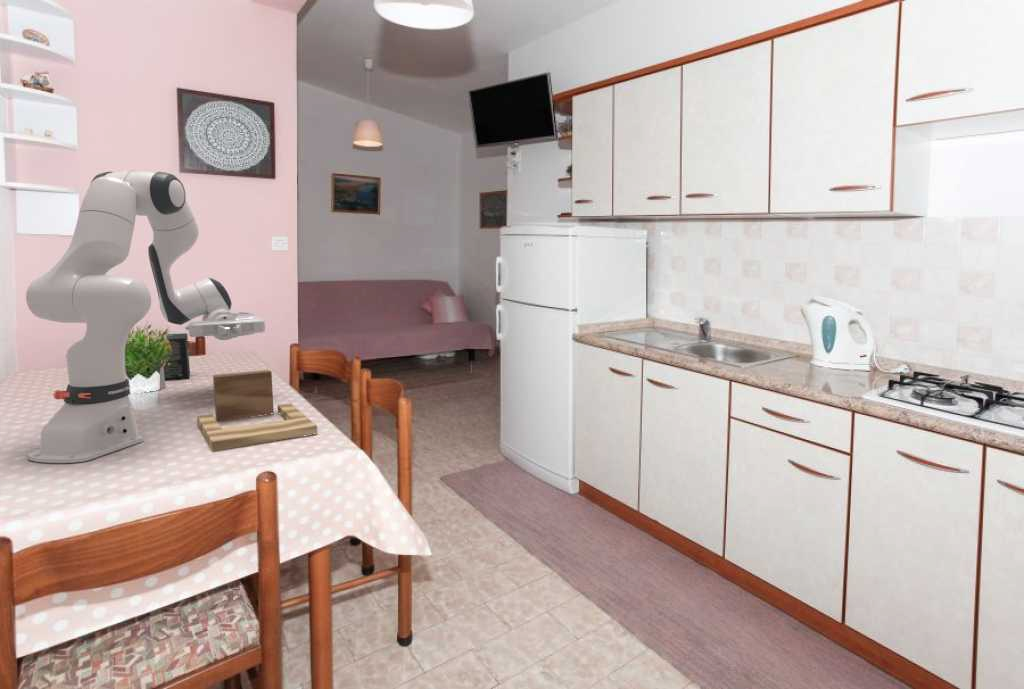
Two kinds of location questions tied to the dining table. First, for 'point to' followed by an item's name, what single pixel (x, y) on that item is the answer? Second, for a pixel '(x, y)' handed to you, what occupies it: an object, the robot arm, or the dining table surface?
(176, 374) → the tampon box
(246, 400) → the plank
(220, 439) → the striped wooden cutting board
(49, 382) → the dining table surface
